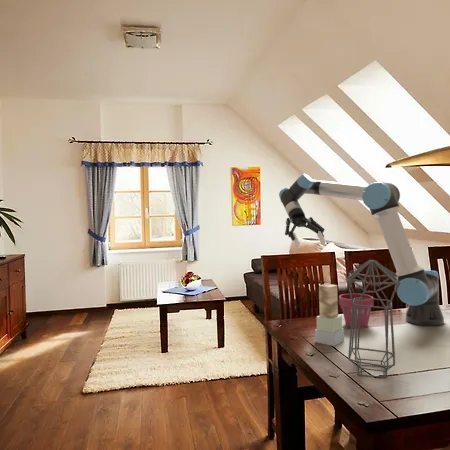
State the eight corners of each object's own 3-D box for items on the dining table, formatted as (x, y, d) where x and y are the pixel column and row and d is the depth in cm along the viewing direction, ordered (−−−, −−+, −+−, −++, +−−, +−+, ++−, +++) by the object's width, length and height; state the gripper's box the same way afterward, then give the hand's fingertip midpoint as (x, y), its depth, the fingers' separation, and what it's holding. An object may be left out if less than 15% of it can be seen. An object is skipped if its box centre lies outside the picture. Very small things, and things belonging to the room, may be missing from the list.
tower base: (344, 340, 147) (343, 328, 147) (334, 346, 141) (334, 333, 141) (325, 337, 152) (324, 324, 152) (315, 342, 146) (315, 329, 146)
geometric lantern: (347, 359, 128) (347, 256, 127) (398, 366, 122) (399, 258, 121) (343, 378, 113) (343, 261, 112) (401, 386, 107) (401, 264, 106)
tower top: (342, 328, 147) (341, 315, 146) (333, 332, 142) (332, 319, 141) (325, 325, 151) (325, 312, 151) (316, 329, 146) (316, 316, 146)
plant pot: (374, 322, 170) (373, 293, 170) (374, 331, 157) (373, 300, 157) (341, 319, 175) (340, 292, 175) (338, 328, 162) (337, 299, 162)
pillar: (337, 315, 146) (337, 285, 146) (331, 318, 143) (330, 287, 142) (326, 313, 150) (325, 283, 150) (319, 316, 146) (318, 285, 146)
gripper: (314, 216, 195) (331, 247, 181) (270, 218, 188) (284, 250, 174) (319, 206, 190) (337, 237, 176) (274, 207, 183) (289, 240, 169)
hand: (311, 244), depth 175 cm, fingers open, 13 cm apart
